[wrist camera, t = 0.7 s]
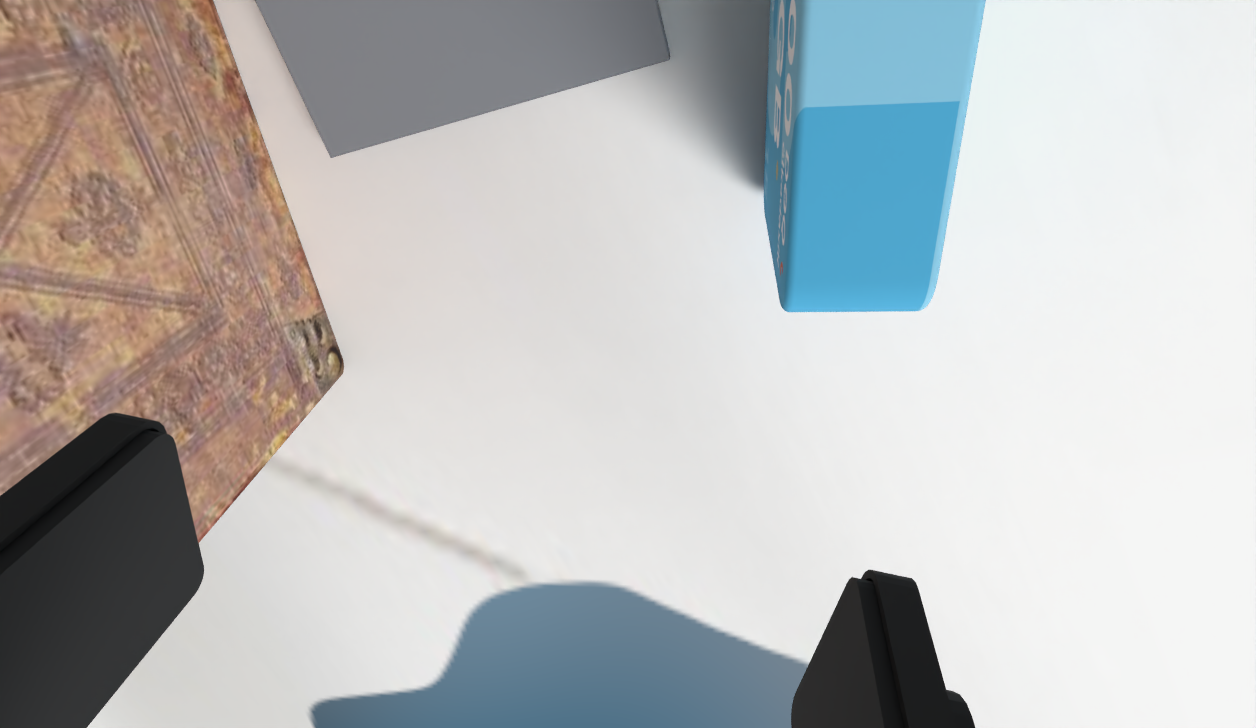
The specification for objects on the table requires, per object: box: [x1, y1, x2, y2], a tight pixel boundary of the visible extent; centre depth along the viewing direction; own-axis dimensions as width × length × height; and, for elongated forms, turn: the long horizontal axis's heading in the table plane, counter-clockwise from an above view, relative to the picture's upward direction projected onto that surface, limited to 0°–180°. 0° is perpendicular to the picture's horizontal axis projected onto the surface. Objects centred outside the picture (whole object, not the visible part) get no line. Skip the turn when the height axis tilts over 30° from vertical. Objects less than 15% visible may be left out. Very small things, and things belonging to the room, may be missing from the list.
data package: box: [764, 0, 986, 312], centre depth 25 cm, size 12×4×12 cm, turn 3°
